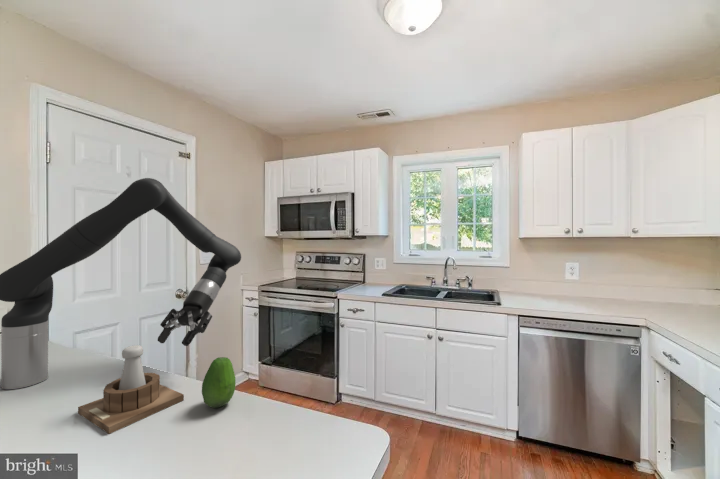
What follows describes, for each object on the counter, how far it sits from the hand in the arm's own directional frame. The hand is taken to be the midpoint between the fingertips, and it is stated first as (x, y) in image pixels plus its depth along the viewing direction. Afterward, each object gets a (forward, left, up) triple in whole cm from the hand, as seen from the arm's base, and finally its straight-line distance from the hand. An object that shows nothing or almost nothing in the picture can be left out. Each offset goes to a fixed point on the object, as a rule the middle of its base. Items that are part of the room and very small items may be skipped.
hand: (172, 343), depth 88 cm
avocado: (+21, 0, -12) cm, 24 cm away
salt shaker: (+2, -11, -11) cm, 15 cm away
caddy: (+3, -11, -12) cm, 17 cm away
